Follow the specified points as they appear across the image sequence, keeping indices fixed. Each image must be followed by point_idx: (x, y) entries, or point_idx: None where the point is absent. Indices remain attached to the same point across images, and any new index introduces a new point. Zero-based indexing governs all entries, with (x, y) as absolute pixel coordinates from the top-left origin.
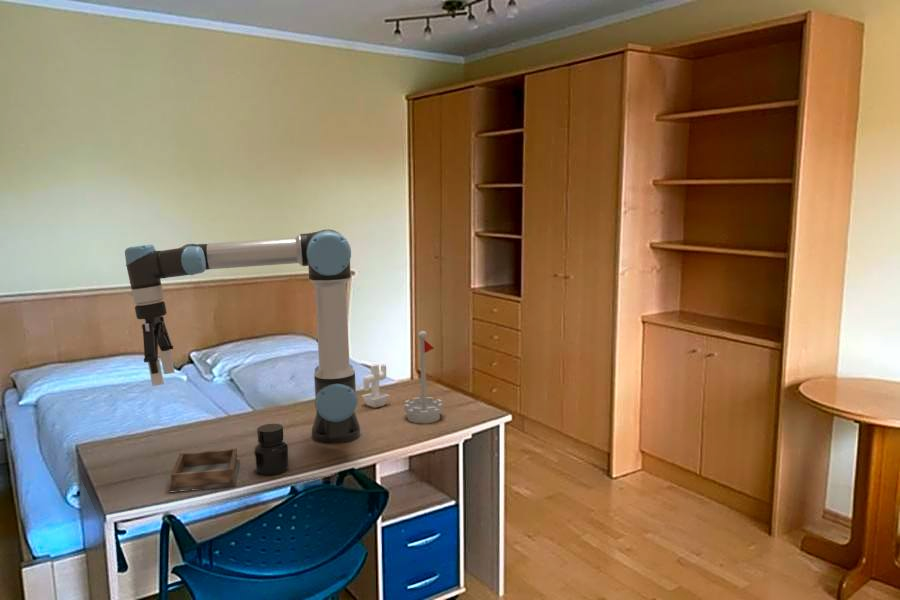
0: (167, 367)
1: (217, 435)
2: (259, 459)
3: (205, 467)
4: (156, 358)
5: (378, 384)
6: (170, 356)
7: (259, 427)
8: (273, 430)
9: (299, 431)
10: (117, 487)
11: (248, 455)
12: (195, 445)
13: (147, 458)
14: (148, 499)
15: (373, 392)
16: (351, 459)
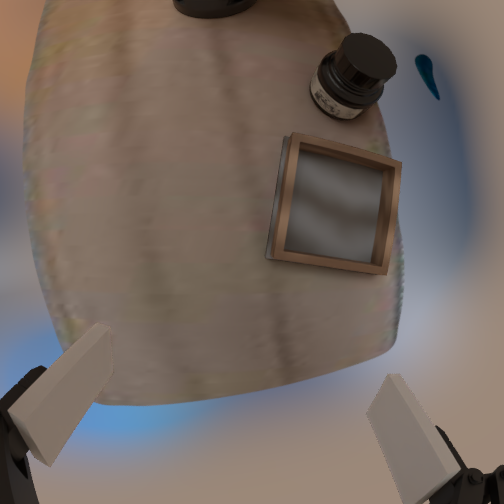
0: (95, 374)
1: (99, 177)
2: (369, 107)
3: (302, 205)
4: (483, 475)
5: None
6: (52, 393)
7: (364, 70)
8: (390, 56)
9: (158, 33)
10: (308, 357)
11: (247, 118)
12: (138, 222)
13: (179, 317)
14: (380, 304)
15: None
16: (332, 2)
